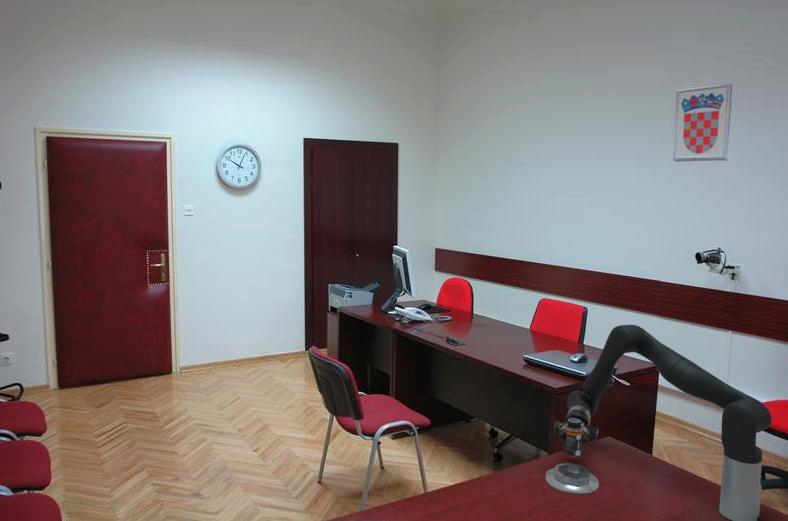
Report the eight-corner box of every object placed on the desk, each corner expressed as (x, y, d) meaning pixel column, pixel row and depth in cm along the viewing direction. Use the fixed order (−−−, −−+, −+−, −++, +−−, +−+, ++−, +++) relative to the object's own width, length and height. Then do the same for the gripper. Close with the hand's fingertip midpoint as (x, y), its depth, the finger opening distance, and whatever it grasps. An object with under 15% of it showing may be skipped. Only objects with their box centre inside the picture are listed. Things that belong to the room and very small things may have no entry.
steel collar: (575, 466, 193) (575, 456, 192) (610, 488, 178) (610, 477, 178) (535, 474, 186) (535, 464, 186) (567, 498, 172) (568, 487, 171)
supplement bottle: (583, 460, 178) (585, 424, 177) (563, 458, 179) (565, 423, 178) (581, 451, 184) (583, 417, 183) (562, 449, 185) (563, 415, 184)
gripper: (556, 406, 196) (549, 424, 181) (601, 412, 191) (598, 431, 175) (555, 427, 197) (548, 446, 182) (600, 434, 192) (596, 455, 176)
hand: (572, 439), depth 179 cm, fingers closed on supplement bottle, 6 cm apart
